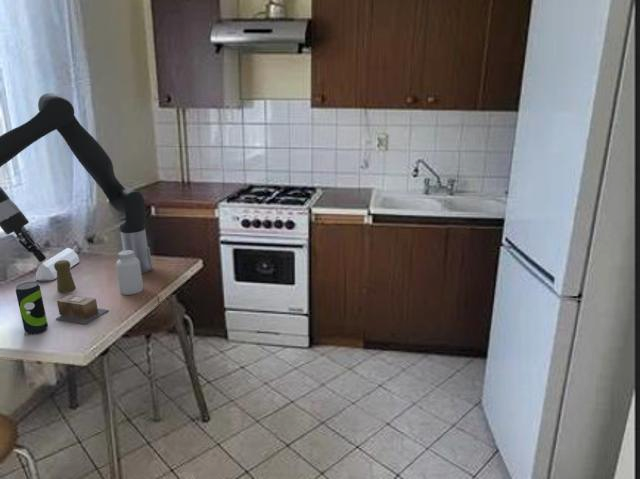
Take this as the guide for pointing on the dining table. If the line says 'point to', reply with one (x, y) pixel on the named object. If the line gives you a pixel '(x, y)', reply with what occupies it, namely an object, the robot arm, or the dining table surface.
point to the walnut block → (77, 306)
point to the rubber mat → (80, 320)
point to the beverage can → (31, 307)
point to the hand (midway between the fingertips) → (43, 260)
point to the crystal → (47, 268)
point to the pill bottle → (129, 273)
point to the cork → (64, 276)
